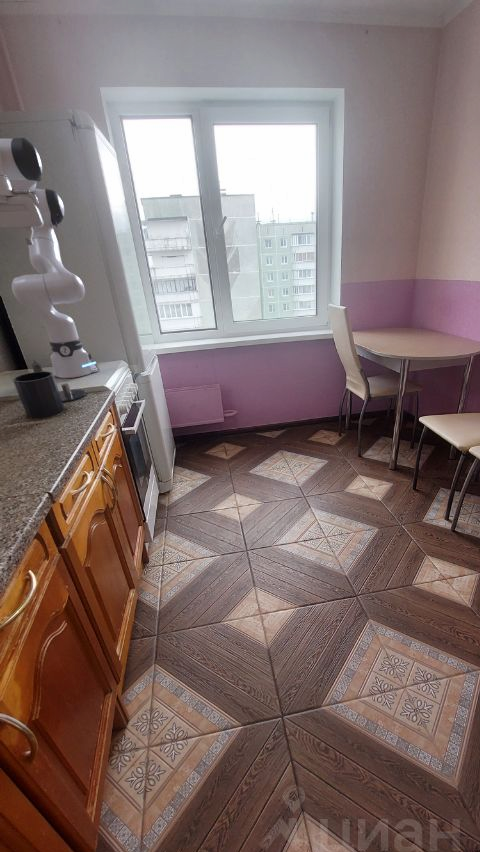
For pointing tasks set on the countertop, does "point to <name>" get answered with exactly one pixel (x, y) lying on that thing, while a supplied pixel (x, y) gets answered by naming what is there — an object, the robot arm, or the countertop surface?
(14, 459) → the countertop surface
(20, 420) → the countertop surface
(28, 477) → the countertop surface
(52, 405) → the canister
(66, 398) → the lid
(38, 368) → the salt shaker
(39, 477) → the countertop surface
